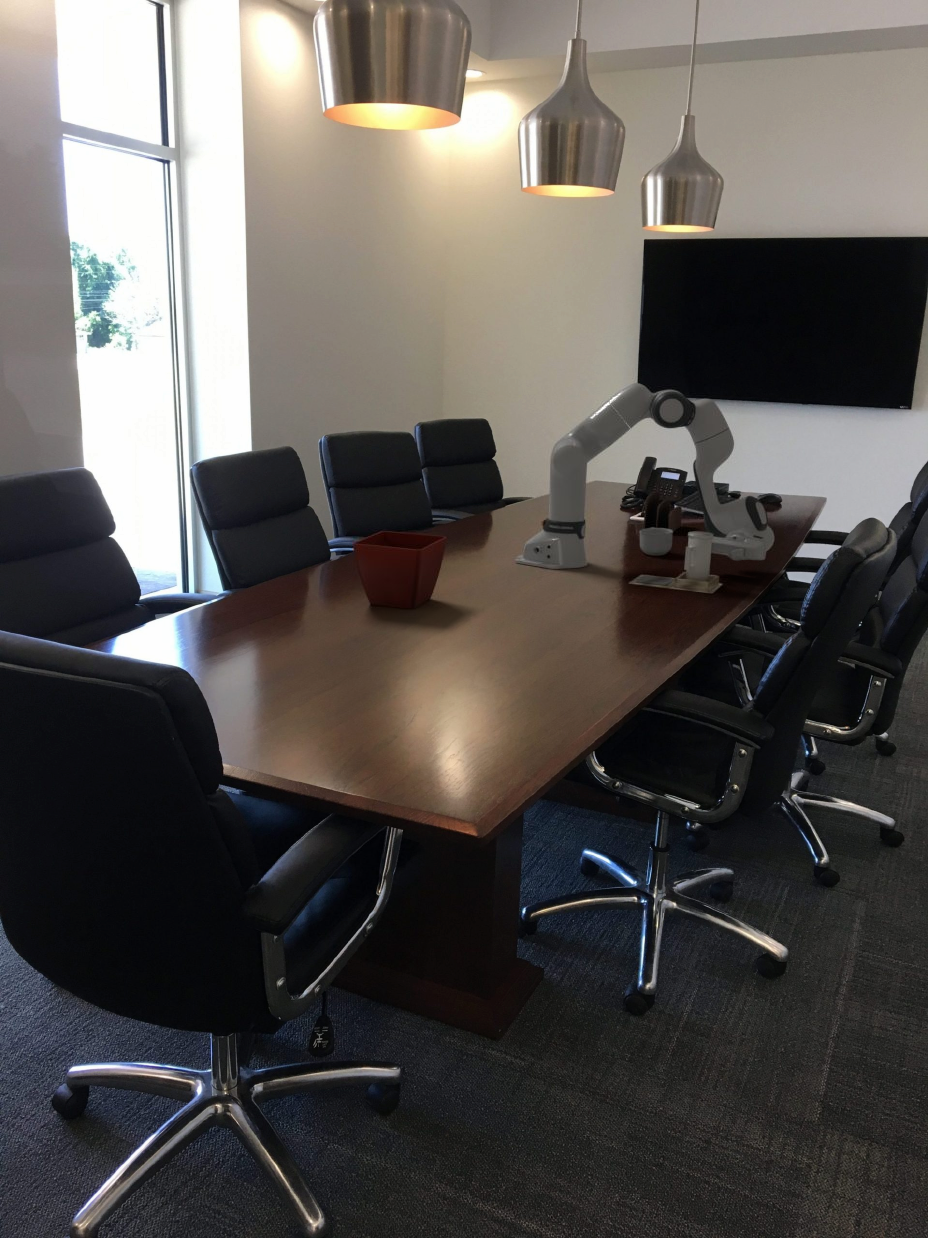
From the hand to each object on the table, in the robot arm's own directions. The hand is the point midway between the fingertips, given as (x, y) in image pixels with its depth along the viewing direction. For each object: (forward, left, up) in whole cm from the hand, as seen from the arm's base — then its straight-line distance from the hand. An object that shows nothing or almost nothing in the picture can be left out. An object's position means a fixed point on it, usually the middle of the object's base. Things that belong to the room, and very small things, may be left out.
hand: (715, 551), depth 288 cm
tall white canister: (-3, -11, -9) cm, 14 cm away
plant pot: (-69, -62, -10) cm, 93 cm away
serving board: (-9, -9, -10) cm, 16 cm away
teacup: (-28, +37, -10) cm, 47 cm away
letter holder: (-38, +82, -10) cm, 91 cm away
